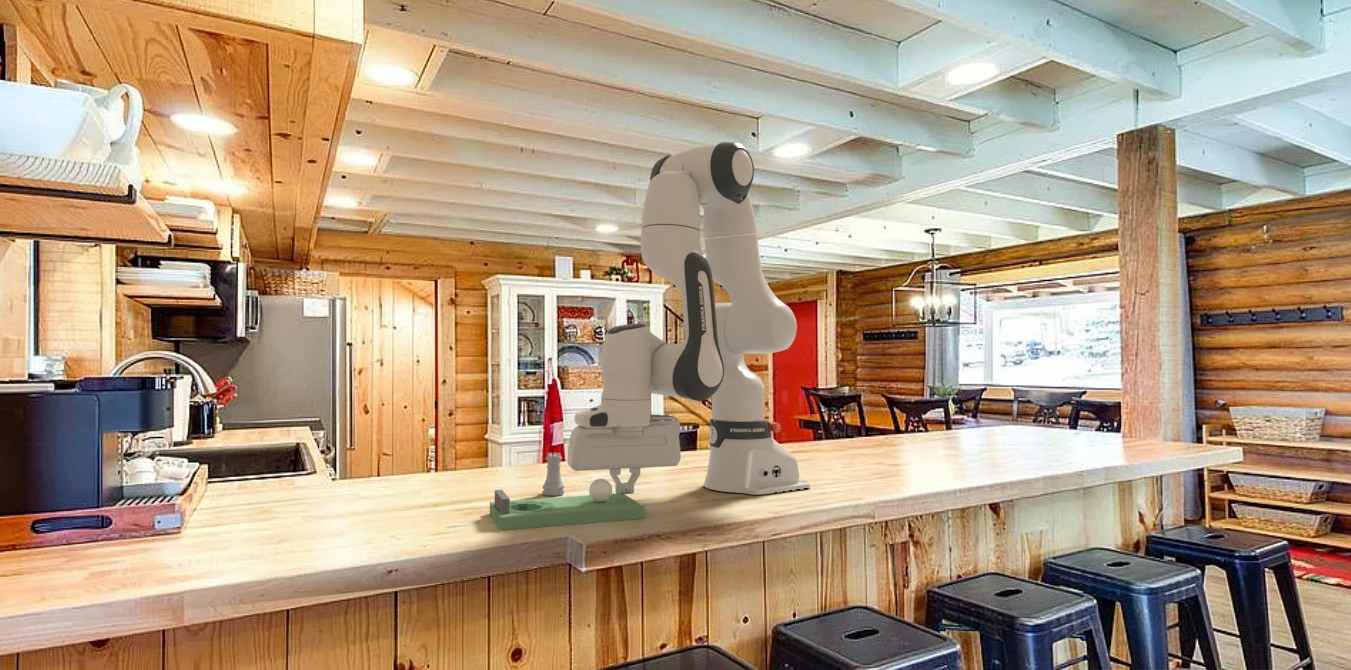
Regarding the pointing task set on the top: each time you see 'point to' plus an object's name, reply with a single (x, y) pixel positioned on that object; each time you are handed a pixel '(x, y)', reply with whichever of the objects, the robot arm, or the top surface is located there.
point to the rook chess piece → (553, 476)
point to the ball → (600, 490)
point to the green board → (561, 511)
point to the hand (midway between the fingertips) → (624, 493)
